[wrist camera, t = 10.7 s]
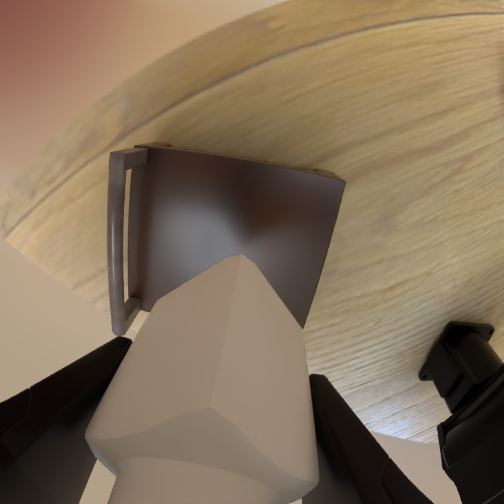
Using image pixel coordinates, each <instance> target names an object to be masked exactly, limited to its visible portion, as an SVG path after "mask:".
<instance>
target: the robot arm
mask: <svg viewBox="0 0 504 504" xmlns="http://www.w3.org/2000/svg"><path fill="white" fill-rule="evenodd" d="M452 327H453V328H452ZM494 330H495V329H494V327H493V326H492V325H482V324H471V323H461V322H451V323H449V324H448V326H447V327H446V329H445V331H444V333H443V335H442V337H441V338H440V340H439V342H438V344H437V345H436V347H435V349H434V351H433V352H432V354H431V356H430V357H429V359H428V361H427V362H426V364H425V366H424V367H423V369H422V370H421V372H420V373H419V379H420V380H421V381H433V382H434V384H435V386H436V388H437V390H438V392H439V394H440V396H441V398H444V400H445V402H446V404H447V406H448V408H449V410H450V413H451V414H452V415H451V416H450V417H449V418H448V419H446V420H445V421H444V422H441V423H440V424H439V425H438V426H437V431H438V439H439V446H440V453H441V460H442V468H443V470H444V471H445V473H446V474H447V475H448V477H449V478H450V479H451V480H452V481H453V482H454V484H455V485H456V487H457V490H458V492H459V495H460V498H461V501H462V504H504V363H503V362H502V361H501V359H500V358H499V356H498V355H497V354H496V352H495V351H494V350H493V348H492V347H491V346H490V345H489V343H488V341H489V340H490V338H491V336H492V335H493V333H494ZM132 343H133V342H132V340H131V339H129V338H125V337H122V336H118V337H116V338H114V339H113V340H111V341H109V342H107V343H106V344H104V345H102V346H100V347H99V348H97V349H95V350H94V351H92V352H90V353H88V354H87V355H85V356H83V357H81V358H80V359H78V360H76V361H75V362H73V363H71V364H69V365H68V366H66V367H64V368H62V369H61V370H59V371H57V372H55V373H54V374H52V375H50V376H49V377H47V378H45V379H43V380H42V381H40V382H38V383H36V384H34V385H33V386H31V387H30V389H29V388H27V389H25V390H24V391H22V392H20V393H19V394H17V395H15V396H13V397H11V398H9V399H7V400H5V401H3V402H1V403H0V504H79V502H80V499H81V497H82V494H83V491H84V489H85V487H86V484H87V482H88V479H89V477H90V475H91V472H92V470H93V467H94V465H95V463H96V460H97V458H96V457H95V456H94V454H93V452H92V450H91V448H90V447H89V445H88V443H87V441H86V439H85V432H86V429H87V427H88V425H89V423H90V421H91V419H92V417H93V415H94V413H95V411H96V409H97V407H98V405H99V404H100V402H101V400H102V398H103V396H104V394H105V392H106V390H107V388H108V386H109V385H110V383H111V381H112V379H113V377H114V375H115V373H116V372H117V370H118V368H119V366H120V364H121V362H122V361H123V359H124V357H125V355H126V353H127V352H128V350H129V348H130V346H131V345H132ZM309 381H310V390H311V398H312V407H313V416H314V425H315V435H316V445H317V455H318V466H319V478H320V480H319V483H318V485H317V486H316V487H315V488H313V489H312V490H311V491H310V492H308V493H307V494H306V495H305V496H303V497H302V504H434V503H433V502H432V501H431V500H429V499H428V498H427V497H426V496H425V495H424V494H423V493H422V492H421V491H420V490H419V489H418V488H417V487H416V486H415V485H414V484H413V483H412V482H411V481H410V480H409V479H408V478H407V477H406V476H405V475H404V473H403V472H402V471H401V470H400V469H399V468H398V467H397V465H396V464H395V463H394V462H393V461H392V459H391V458H389V456H388V454H387V453H386V452H385V451H384V449H383V448H382V447H381V446H380V444H379V443H378V442H377V441H376V439H375V438H374V437H373V436H372V434H371V433H370V432H369V431H368V429H367V428H366V427H365V426H364V424H363V423H362V422H361V421H360V419H359V418H358V417H357V416H356V414H355V413H354V412H353V411H352V409H351V408H350V407H349V406H348V404H347V403H346V402H345V400H344V399H343V398H342V397H341V395H340V394H339V393H338V392H337V390H336V389H335V388H334V387H333V385H332V384H331V383H330V381H329V380H328V379H327V378H326V376H324V375H320V374H311V375H310V376H309Z"/></svg>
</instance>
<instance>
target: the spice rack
mask: <svg viewBox="0 0 504 504" xmlns="http://www.w3.org/2000/svg"><path fill="white" fill-rule="evenodd" d="M131 168H132V172H131V185H130V201H129V222H128V297H129V298H128V299H127V301H126V302H125V303H124V282H123V222H124V198H125V182H126V170H128V169H131ZM345 184H346V181H345V180H343V179H342V178H340V177H339V176H337V175H336V174H334V173H332V172H328V171H323V170H319V169H315V172H313V171H309V170H304V169H300V168H295V167H290V166H285V165H280V164H275V163H270V162H265V161H260V160H254V159H248V158H243V157H237V156H231V155H224V154H218V153H211V152H204V151H197V150H190V149H182V148H174V147H171V144H166V143H157V142H153V143H147V144H139V145H135V146H134V148H129V149H124V150H119V151H114V152H110V159H109V181H108V203H107V259H108V281H109V297H110V309H111V319H112V331H113V333H114V334H115V335H117V336H122V335H125V333H126V332H127V330H128V329H129V327H130V325H131V324H132V322H133V321H134V319H135V318H136V316H137V314H138V313H139V311H140V310H143V311H147V312H151V310H152V308H153V307H154V305H155V303H156V302H157V300H159V299H160V298H162V297H163V296H165V295H167V294H168V293H170V292H171V291H173V290H175V289H176V288H178V287H180V286H181V285H183V284H184V283H186V282H188V281H189V280H191V279H192V278H194V277H196V276H197V275H199V274H201V273H202V272H204V271H206V270H207V269H209V268H210V267H212V266H214V265H215V264H217V263H219V262H220V261H222V260H224V259H225V258H228V257H232V256H236V255H241V254H242V255H244V256H245V257H246V258H248V259H249V260H250V261H252V262H253V263H255V264H256V266H257V267H258V269H259V270H260V271H261V273H262V274H263V275H264V277H265V278H266V280H267V281H268V282H269V284H270V285H271V287H272V288H273V289H274V291H275V292H276V293H277V295H278V296H279V298H280V299H281V300H282V302H283V303H284V304H285V306H286V307H287V309H288V310H289V311H290V313H291V314H292V316H293V317H294V318H295V320H296V321H297V322H298V324H299V325H300V327H301V328H302V329H303V328H304V325H305V322H306V319H307V316H308V313H309V310H310V307H311V304H312V301H313V298H314V295H315V291H316V288H317V285H318V282H319V278H320V275H321V272H322V269H323V265H324V262H325V258H326V255H327V252H328V248H329V244H330V241H331V237H332V234H333V230H334V226H335V223H336V219H337V215H338V211H339V208H340V204H341V200H342V196H343V192H344V188H345Z"/></svg>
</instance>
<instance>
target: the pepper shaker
mask: <svg viewBox="0 0 504 504" xmlns="http://www.w3.org/2000/svg"><path fill="white" fill-rule="evenodd" d="M85 439H86V441H87V443H88V445H89V447H90V448H91V450H92V452H93V454H94V456H95V457H96V458H97V459H98V460H99V461H100V462H101V463H102V464H103V465H104V466H105V467H106V468H107V469H108V470H109V471H110V472H111V473H112V474H113V475H115V476H116V477H117V478H116V481H115V484H114V486H113V489H112V492H111V495H110V498H109V501H108V504H289V503H291V502H294V501H296V500H299V499H301V498H302V497H303V496H305V495H306V494H307V493H308V492H310V491H311V490H312V489H313V488H315V487H316V486H317V485H318V483H319V480H320V478H319V466H318V455H317V445H316V435H315V425H314V416H313V407H312V398H311V390H310V381H309V373H308V365H307V358H306V350H305V343H304V335H303V329H302V328H301V327H300V325H299V324H298V322H297V321H296V320H295V318H294V317H293V316H292V314H291V313H290V311H289V310H288V309H287V307H286V306H285V304H284V303H283V302H282V300H281V299H280V298H279V296H278V295H277V293H276V292H275V291H274V289H273V288H272V287H271V285H270V284H269V282H268V281H267V280H266V278H265V277H264V275H263V274H262V273H261V271H260V270H259V269H258V267H257V266H256V264H255V263H253V262H252V261H250V260H249V259H248V258H246V257H245V256H244V255H242V254H241V255H236V256H232V257H228V258H225V259H224V260H222V261H220V262H219V263H217V264H215V265H214V266H212V267H210V268H209V269H207V270H206V271H204V272H202V273H201V274H199V275H197V276H196V277H194V278H192V279H191V280H189V281H188V282H186V283H184V284H183V285H181V286H180V287H178V288H176V289H175V290H173V291H171V292H170V293H168V294H167V295H165V296H163V297H162V298H160V299H159V300H157V302H156V303H155V305H154V307H153V308H152V310H151V312H150V313H149V315H148V317H147V319H146V320H145V322H144V324H143V325H142V327H141V329H140V331H139V332H138V334H137V336H136V338H135V339H134V341H133V343H132V345H131V346H130V348H129V350H128V352H127V353H126V355H125V357H124V359H123V361H122V362H121V364H120V366H119V368H118V370H117V372H116V373H115V375H114V377H113V379H112V381H111V383H110V385H109V386H108V388H107V390H106V392H105V394H104V396H103V398H102V400H101V402H100V404H99V405H98V407H97V409H96V411H95V413H94V415H93V417H92V419H91V421H90V423H89V425H88V427H87V429H86V432H85Z"/></svg>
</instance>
